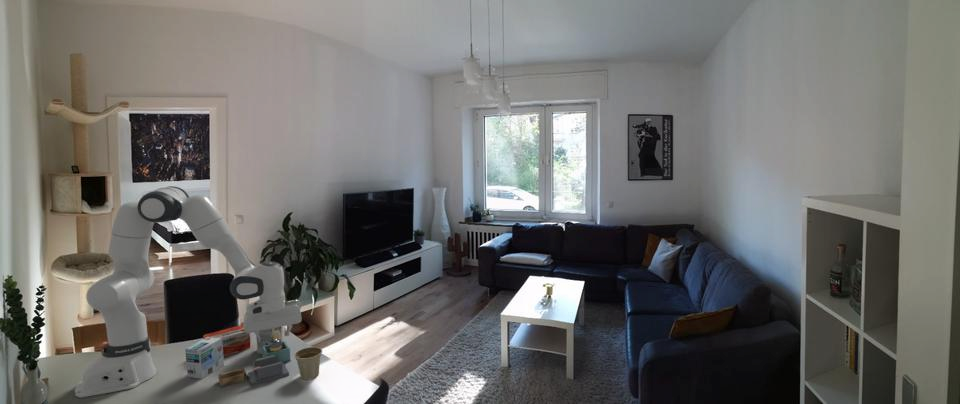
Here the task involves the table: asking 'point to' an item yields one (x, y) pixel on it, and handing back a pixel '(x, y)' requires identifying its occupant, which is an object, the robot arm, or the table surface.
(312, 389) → the table surface
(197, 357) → the light bulb box
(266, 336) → the coffee box
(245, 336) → the medicine box
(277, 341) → the cell
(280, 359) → the cup
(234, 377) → the trough
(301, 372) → the flower pot
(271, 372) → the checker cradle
